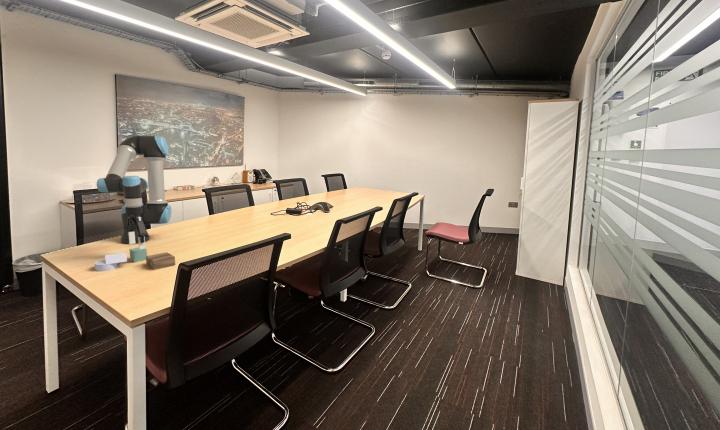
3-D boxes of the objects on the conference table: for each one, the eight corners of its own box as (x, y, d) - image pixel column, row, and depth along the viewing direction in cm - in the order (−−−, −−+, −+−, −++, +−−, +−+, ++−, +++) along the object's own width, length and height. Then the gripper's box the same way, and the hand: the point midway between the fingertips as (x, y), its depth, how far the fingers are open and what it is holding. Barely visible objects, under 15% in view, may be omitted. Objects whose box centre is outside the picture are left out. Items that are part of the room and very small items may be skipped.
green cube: (130, 260, 187) (129, 249, 185) (142, 257, 191) (141, 246, 190) (134, 262, 183) (133, 251, 182) (147, 260, 188) (146, 249, 186)
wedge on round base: (126, 262, 183) (95, 267, 175) (125, 250, 181) (93, 254, 174) (127, 267, 175) (95, 272, 168) (126, 254, 174) (93, 259, 167)
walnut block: (146, 265, 180) (145, 256, 179) (167, 261, 187) (166, 252, 186) (154, 270, 173) (153, 260, 172) (175, 265, 181) (174, 256, 180)
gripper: (116, 204, 186) (120, 243, 190) (134, 210, 171) (138, 252, 175) (132, 202, 192) (136, 240, 196) (151, 208, 176) (154, 249, 180)
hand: (137, 246), depth 185 cm, fingers open, 13 cm apart
